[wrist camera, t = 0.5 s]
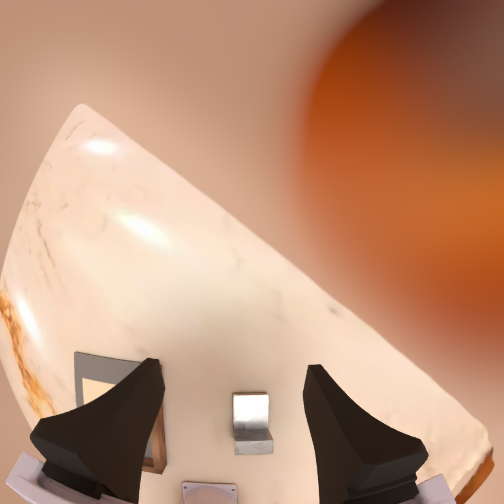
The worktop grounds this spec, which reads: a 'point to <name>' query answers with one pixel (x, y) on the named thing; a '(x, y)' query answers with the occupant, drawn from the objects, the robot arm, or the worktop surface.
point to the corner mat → (100, 379)
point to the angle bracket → (251, 424)
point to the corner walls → (156, 448)
